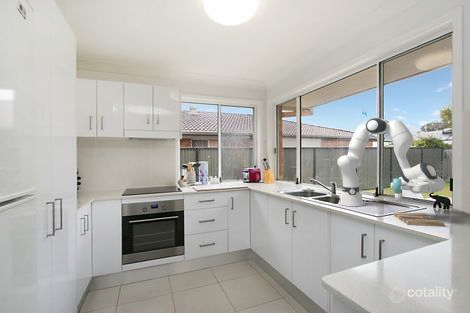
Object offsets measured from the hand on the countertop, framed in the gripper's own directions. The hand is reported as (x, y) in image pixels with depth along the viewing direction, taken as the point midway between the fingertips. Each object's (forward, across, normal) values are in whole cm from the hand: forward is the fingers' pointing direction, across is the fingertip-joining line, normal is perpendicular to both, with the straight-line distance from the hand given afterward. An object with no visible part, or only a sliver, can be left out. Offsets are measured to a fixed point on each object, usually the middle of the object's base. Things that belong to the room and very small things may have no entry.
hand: (396, 187), depth 131 cm
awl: (-1, 0, +8) cm, 8 cm away
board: (-7, +5, +19) cm, 20 cm away
